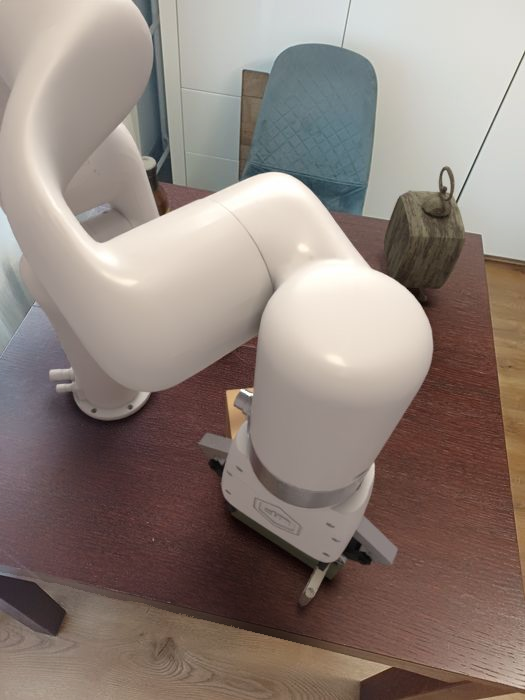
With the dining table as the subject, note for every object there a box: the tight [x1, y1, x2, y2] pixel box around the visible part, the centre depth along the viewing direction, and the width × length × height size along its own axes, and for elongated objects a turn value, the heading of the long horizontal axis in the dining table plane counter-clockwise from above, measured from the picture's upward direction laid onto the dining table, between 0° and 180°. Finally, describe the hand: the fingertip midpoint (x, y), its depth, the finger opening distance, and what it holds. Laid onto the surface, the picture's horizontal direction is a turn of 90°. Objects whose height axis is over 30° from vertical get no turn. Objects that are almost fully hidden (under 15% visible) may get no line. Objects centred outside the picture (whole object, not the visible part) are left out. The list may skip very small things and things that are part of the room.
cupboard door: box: [230, 510, 350, 607], centre depth 61 cm, size 6×16×16 cm, turn 58°
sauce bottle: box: [141, 155, 171, 216], centre depth 92 cm, size 7×6×20 cm
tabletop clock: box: [383, 165, 466, 303], centre depth 89 cm, size 14×9×25 cm, turn 0°
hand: (282, 525), depth 44 cm, fingers open, 8 cm apart
